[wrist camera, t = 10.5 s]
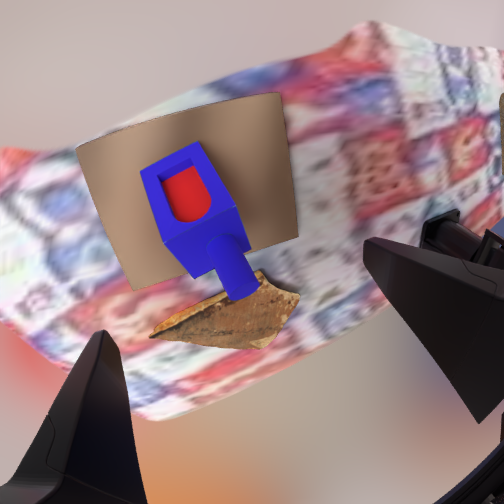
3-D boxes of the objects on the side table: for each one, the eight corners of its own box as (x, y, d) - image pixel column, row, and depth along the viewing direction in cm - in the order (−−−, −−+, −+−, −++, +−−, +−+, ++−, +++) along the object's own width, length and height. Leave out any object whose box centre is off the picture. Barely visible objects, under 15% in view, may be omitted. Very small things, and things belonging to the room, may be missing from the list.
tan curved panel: (272, 91, 17) (279, 92, 16) (291, 229, 22) (298, 236, 21) (80, 145, 14) (75, 149, 13) (133, 281, 20) (133, 291, 19)
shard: (147, 325, 23) (148, 341, 21) (174, 244, 20) (177, 257, 19) (260, 341, 28) (266, 354, 26) (299, 275, 25) (308, 288, 24)
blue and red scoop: (167, 212, 19) (213, 323, 15) (139, 170, 15) (183, 298, 11) (216, 187, 19) (275, 291, 15) (197, 140, 15) (266, 255, 12)
